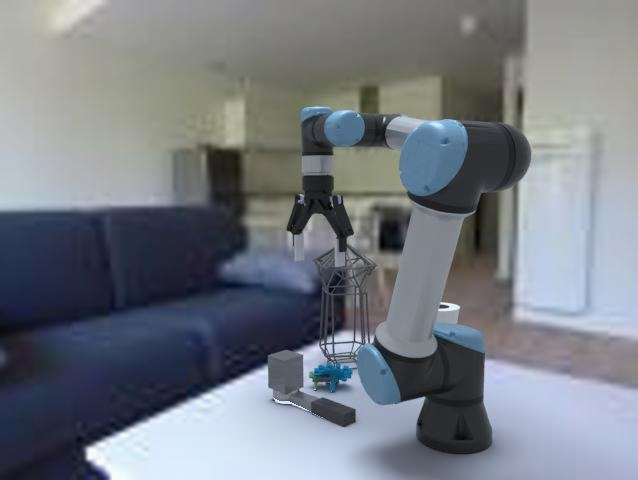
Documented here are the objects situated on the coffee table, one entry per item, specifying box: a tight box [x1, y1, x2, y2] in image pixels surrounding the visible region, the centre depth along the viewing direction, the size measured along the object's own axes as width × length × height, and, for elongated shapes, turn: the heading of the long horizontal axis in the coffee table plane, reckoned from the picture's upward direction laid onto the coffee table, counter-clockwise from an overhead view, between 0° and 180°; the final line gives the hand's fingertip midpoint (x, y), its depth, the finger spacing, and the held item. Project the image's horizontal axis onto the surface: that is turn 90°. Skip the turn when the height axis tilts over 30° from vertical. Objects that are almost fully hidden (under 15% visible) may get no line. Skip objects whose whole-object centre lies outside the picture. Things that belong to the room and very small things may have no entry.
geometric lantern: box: [312, 243, 378, 370], centre depth 160 cm, size 16×16×35 cm
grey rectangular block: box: [267, 349, 305, 394], centre depth 137 cm, size 6×6×8 cm
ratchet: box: [272, 389, 357, 428], centre depth 132 cm, size 24×6×7 cm, turn 45°
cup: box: [435, 301, 461, 324], centre depth 155 cm, size 11×11×18 cm
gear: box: [308, 362, 353, 393], centre depth 144 cm, size 11×6×10 cm
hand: (319, 263), depth 137 cm, fingers open, 13 cm apart
